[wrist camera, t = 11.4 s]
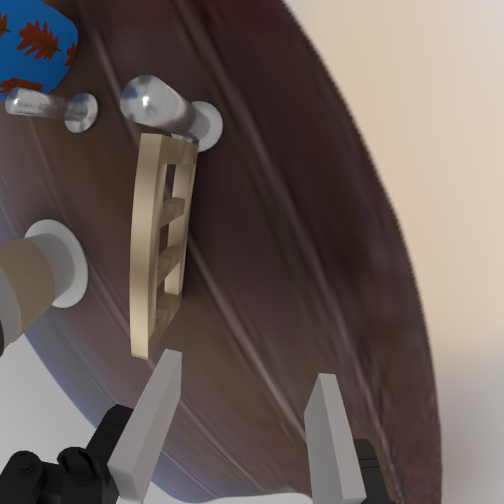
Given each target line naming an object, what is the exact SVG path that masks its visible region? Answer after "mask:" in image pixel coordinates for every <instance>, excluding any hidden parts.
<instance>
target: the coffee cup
mask: <svg viewBox="0 0 504 504" xmlns="http://www.w3.org/2000/svg"><path fill="white" fill-rule="evenodd" d="M74 276H75V267H74V261H73V258H72V255H71V253H70V251H69V249H68V247H67V246H66V244H65V243H64V242H63V241H62V240H61V239H60V238H59V237H57V236H56V235H54V234H51V233H42V234H38V235H34V236H30V237H26V238H18V239H14V240H10V241H6V242H2V243H0V357H1V356H2V354H3V351H4V349H5V348H6V347H7V346H8V345H9V344H10V343H12V342H14V341H16V340H17V339H18V338H19V337H20V336H21V335H22V334H23V333H24V332H25V331H26V330H27V329H28V328H29V327H30V326H31V325H32V324H33V323H34V322H35V321H36V320H37V319H38V318H39V317H40V316H41V315H42V314H43V313H44V312H46V311H47V310H48V309H49V308H50V307H51V305H52V304H53V302H54V301H55V300H56V299H57V298H58V297H60V296H61V295H62V294H63V293H64V292H65V291H66V290H68V289H69V288H70V286H71V285H72V283H73V280H74Z"/></svg>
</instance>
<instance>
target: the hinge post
mask: <svg viewBox="0 0 504 504" xmlns="http://www.w3.org/2000/svg"><path fill="white" fill-rule="evenodd" d="M120 107H121V110H122V113H123V114H124V116H125V117H126V118H128V119H129V120H131V121H134V122H137V123H141V124H144V125H147V126H151V127H154V128H157V129H160V130H163V131H166V132H169V133H171V135H172V137H173V138H176V139H179V140H183V141H186V142H190V143H193V144H196V145H199V148H198V152H203V151H206V150H208V149H210V148H212V147H213V146H214V145H215V144H216V143H217V142H218V141H219V139H220V138H221V136H222V133H223V119H222V117H221V114H220V113H219V111H218V110H217V109H216V108H215V107H214V106H212V105H211V104H209V103H206V102H202V101H195V102H190V103H189V102H188V101H187V100H186V99H184V98H183V97H182V96H181V95H179V94H178V93H177V92H175V91H174V90H173V89H172V88H170V87H169V86H168V85H166V84H165V83H164V82H162V81H161V80H160V79H158V78H157V77H155V76H152V75H143V76H139V77H137V78H135V79H133V80H132V81H130V82H129V83H128V84H127V86H126V87H125V88H124V90H123V92H122V95H121V98H120Z"/></svg>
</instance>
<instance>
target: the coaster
mask: <svg viewBox="0 0 504 504" xmlns="http://www.w3.org/2000/svg"><path fill="white" fill-rule="evenodd" d="M42 233H51V234H54V235H56V236H57V237H59V238H60V239H61V240H62V241H63V242H64V243H65V244H66V246H67V247H68V249H69V251H70V253H71V255H72V258H73V261H74V267H75V276H74V280H73V283H72V285H71V286H70V288H69V289H68V290H66V291H65V292H64V293H63V294H62V295H61V296H60V297H58V298H57V299H56V300H55V301H54V302H53V304H52V305H54V306H56V307H62V308H64V307H70V306H72V305H74V304H76V303H77V302H78V301H80V299H81V298H82V297H83V295H84V294H85V291H86V289H87V285H88V279H89V272H88V264H87V259H86V256H85V253H84V250H83V248H82V246H81V244H80V242H79V240H78V239H77V237H76V236H75V235H74V233H73V232H72V231H71V230H70V229H69V228H68V227H67V226H65V225H64V224H62V223H61V222H59V221H56V220H52V219H45V220H41V221H38V222H36V223H35V224H33V225H32V226H31V227H30V228H29V230H28V231H27V233H26V235H25V238H26V237H30V236H34V235H38V234H42Z"/></svg>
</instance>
